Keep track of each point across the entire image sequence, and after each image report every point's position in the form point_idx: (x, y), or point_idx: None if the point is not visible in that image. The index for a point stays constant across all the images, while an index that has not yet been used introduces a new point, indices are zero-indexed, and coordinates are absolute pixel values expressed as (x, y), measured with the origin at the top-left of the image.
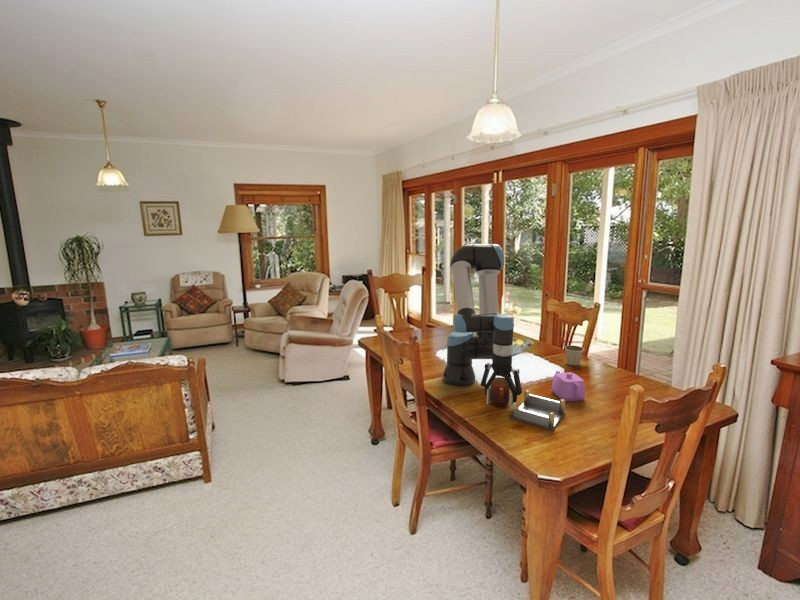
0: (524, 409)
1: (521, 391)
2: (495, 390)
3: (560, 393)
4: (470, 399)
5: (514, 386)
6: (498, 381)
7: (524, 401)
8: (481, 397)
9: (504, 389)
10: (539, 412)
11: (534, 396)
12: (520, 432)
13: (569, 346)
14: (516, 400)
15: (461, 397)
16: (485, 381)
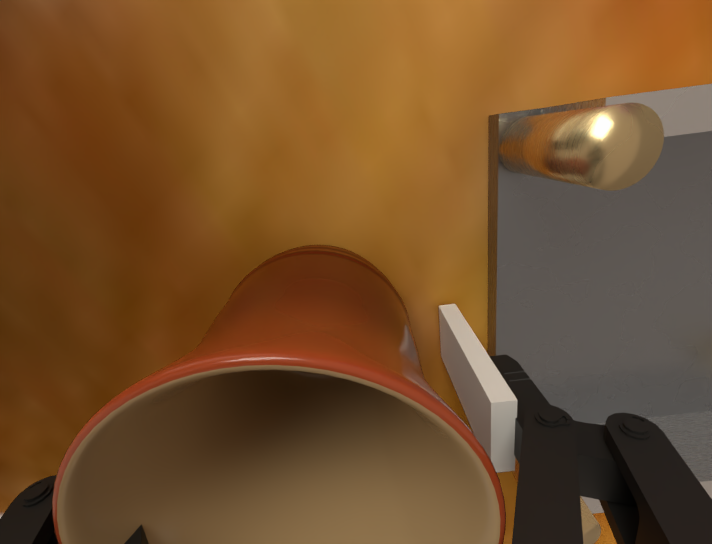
0: (557, 299)
1: (665, 456)
2: (302, 535)
3: None
4: (85, 384)
5: (578, 525)
6: (170, 396)
7: (519, 172)
8: (111, 295)
9: (418, 538)
10: (694, 264)
11: (696, 131)
12: (603, 523)
13: None
14: (520, 374)
15: (11, 401)
16: (41, 541)
